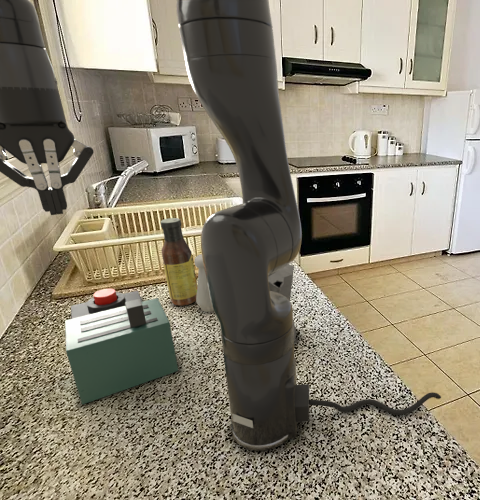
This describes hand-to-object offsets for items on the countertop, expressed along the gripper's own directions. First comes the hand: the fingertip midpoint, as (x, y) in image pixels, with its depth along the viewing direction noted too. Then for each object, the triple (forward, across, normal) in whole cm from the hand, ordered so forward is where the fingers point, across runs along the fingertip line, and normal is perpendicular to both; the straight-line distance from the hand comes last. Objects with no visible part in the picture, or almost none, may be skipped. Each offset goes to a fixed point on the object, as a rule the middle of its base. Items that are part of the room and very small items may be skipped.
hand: (57, 213), depth 55 cm
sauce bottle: (+28, +18, +18) cm, 38 cm away
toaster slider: (+18, +7, -6) cm, 20 cm away
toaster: (+28, +4, -3) cm, 29 cm away
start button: (+25, +3, +20) cm, 32 cm away
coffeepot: (+29, +29, -7) cm, 42 cm away
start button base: (+28, +3, +20) cm, 34 cm away
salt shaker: (+28, +22, +11) cm, 38 cm away
